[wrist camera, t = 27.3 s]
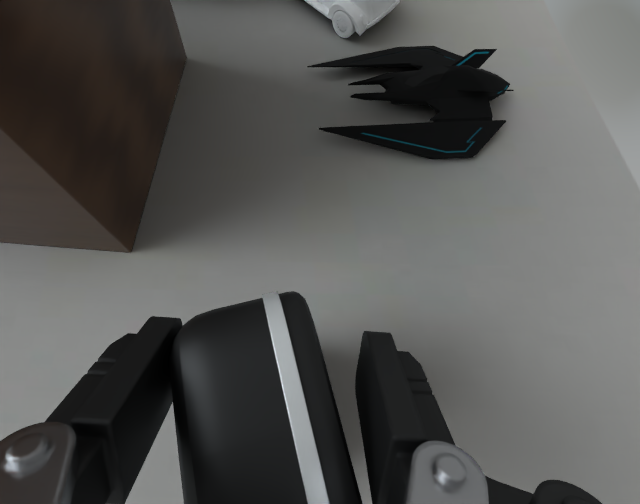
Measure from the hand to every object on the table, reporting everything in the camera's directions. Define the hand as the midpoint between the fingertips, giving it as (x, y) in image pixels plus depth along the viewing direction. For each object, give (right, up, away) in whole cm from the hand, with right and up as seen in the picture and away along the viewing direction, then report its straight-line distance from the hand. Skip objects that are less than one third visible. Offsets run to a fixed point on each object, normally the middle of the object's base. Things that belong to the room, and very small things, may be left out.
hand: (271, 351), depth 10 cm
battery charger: (-1, -5, +8) cm, 9 cm away
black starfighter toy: (+8, +14, +17) cm, 24 cm away
